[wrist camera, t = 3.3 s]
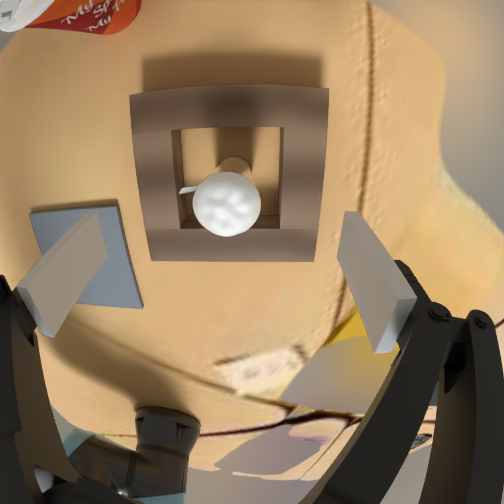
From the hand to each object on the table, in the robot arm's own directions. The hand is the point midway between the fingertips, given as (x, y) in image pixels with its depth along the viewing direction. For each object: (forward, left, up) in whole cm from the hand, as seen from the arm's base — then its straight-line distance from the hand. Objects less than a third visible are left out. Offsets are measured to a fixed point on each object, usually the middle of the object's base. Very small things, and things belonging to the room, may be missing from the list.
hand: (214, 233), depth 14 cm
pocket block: (0, 0, -13) cm, 13 cm away
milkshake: (0, 0, -13) cm, 13 cm away
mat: (-10, +19, -13) cm, 25 cm away
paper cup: (+18, +11, -13) cm, 25 cm away
